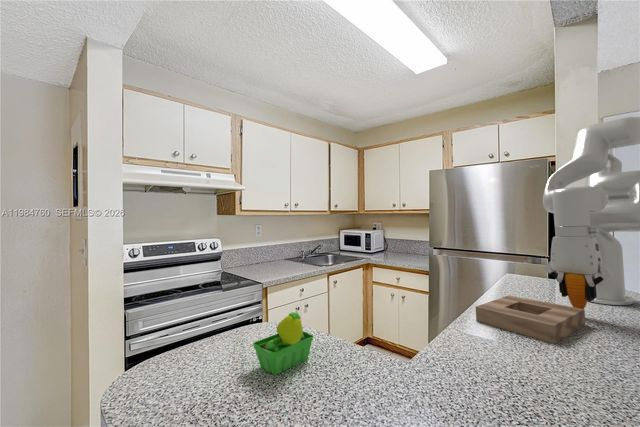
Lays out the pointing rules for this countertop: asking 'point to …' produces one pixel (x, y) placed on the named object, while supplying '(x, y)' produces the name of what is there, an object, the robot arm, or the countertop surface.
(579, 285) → the carrot
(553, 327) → the socket block
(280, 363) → the fruit basket
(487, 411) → the countertop surface
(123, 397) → the countertop surface
